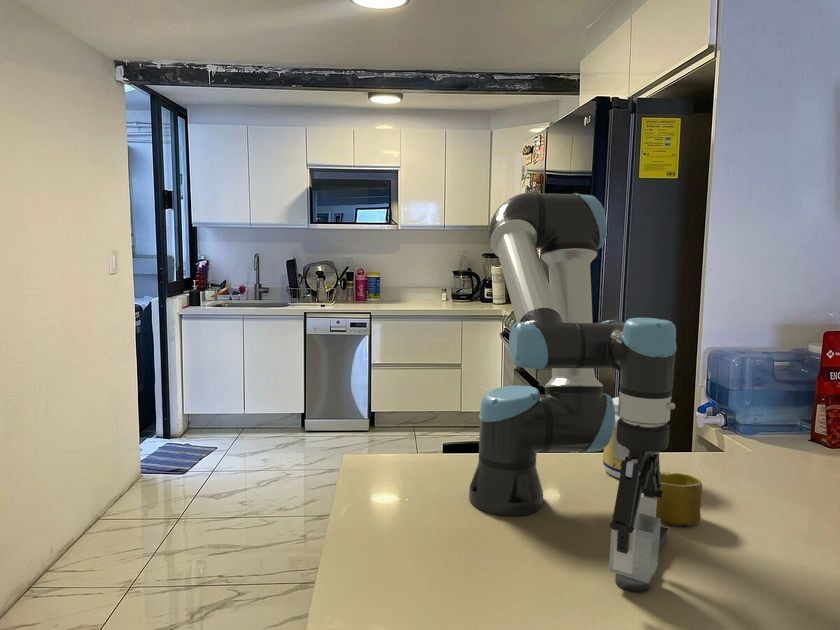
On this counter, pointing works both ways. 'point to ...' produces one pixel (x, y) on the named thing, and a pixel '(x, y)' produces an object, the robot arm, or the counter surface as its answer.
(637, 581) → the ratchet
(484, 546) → the counter surface
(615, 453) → the supplement tub
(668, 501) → the mug
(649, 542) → the grey block
